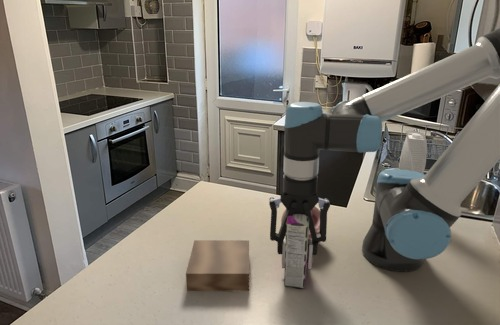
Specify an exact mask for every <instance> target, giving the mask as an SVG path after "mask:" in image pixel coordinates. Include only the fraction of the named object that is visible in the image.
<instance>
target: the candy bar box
mask: <svg viewBox="0 0 500 325" xmlns="http://www.w3.org/2000/svg"><path fill="white" fill-rule="evenodd" d="M308 236H309V216H306V215H304V214H293V216H288V217H287V222H286V236H285V238H286V242H285V268H284V274H283V275H284V276H283V277H284V280H283V285H284V287H290V288H298V289H305V287H306V286H305V285H306V278H307V269H308V265H307V255H308Z"/></svg>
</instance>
